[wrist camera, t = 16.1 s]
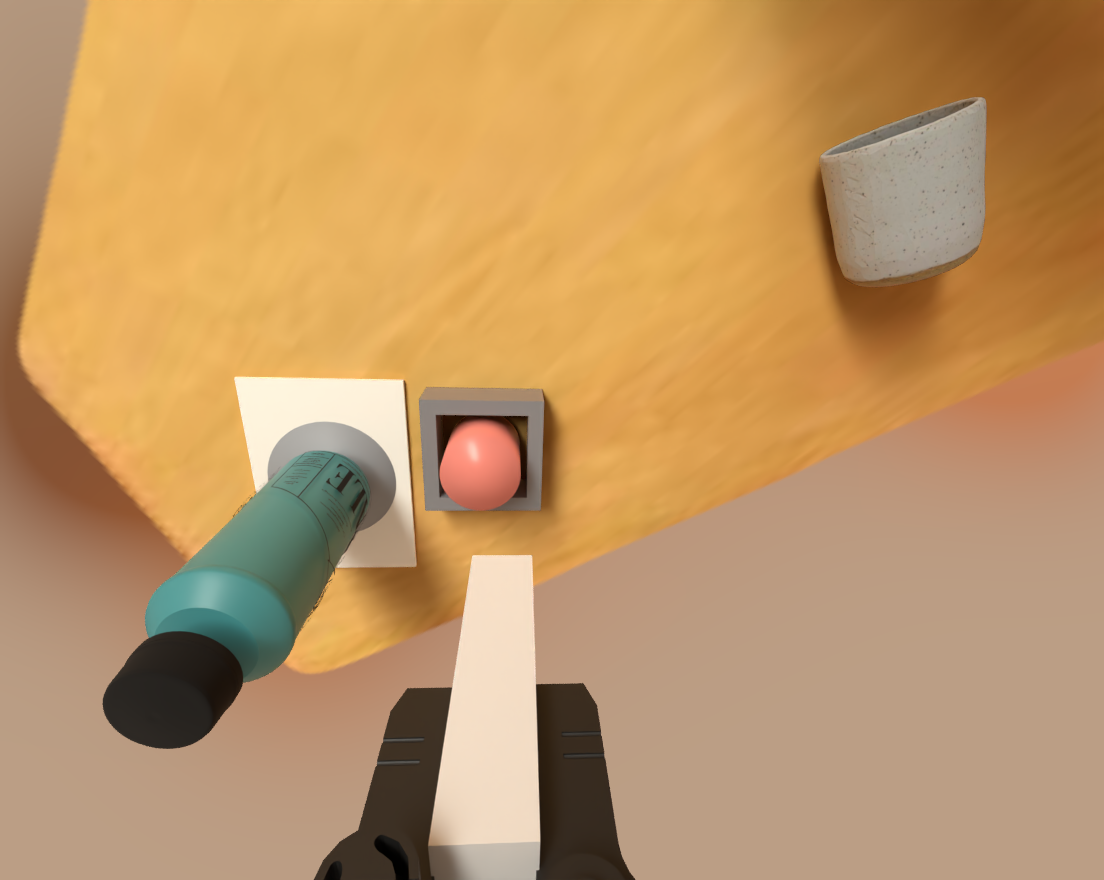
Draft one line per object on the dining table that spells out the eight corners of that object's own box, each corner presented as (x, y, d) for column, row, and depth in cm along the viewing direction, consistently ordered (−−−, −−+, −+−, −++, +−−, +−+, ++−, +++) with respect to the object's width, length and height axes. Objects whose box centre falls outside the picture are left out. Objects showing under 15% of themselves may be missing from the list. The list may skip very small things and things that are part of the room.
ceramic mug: (819, 289, 35) (900, 300, 28) (792, 164, 32) (875, 141, 25) (970, 223, 34) (1093, 218, 27) (957, 90, 31) (1091, 43, 24)
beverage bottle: (268, 482, 37) (15, 727, 18) (325, 418, 35) (113, 614, 17) (343, 535, 39) (183, 806, 20) (399, 477, 37) (284, 711, 19)
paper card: (236, 376, 34) (234, 377, 34) (403, 379, 35) (402, 380, 35) (272, 565, 40) (270, 568, 39) (416, 564, 41) (415, 566, 40)
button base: (426, 387, 35) (418, 399, 33) (541, 389, 36) (544, 401, 33) (432, 490, 38) (425, 510, 36) (538, 491, 39) (540, 510, 36)
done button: (448, 411, 35) (437, 436, 31) (520, 412, 36) (521, 437, 31) (450, 477, 37) (441, 510, 33) (519, 477, 38) (520, 510, 33)
